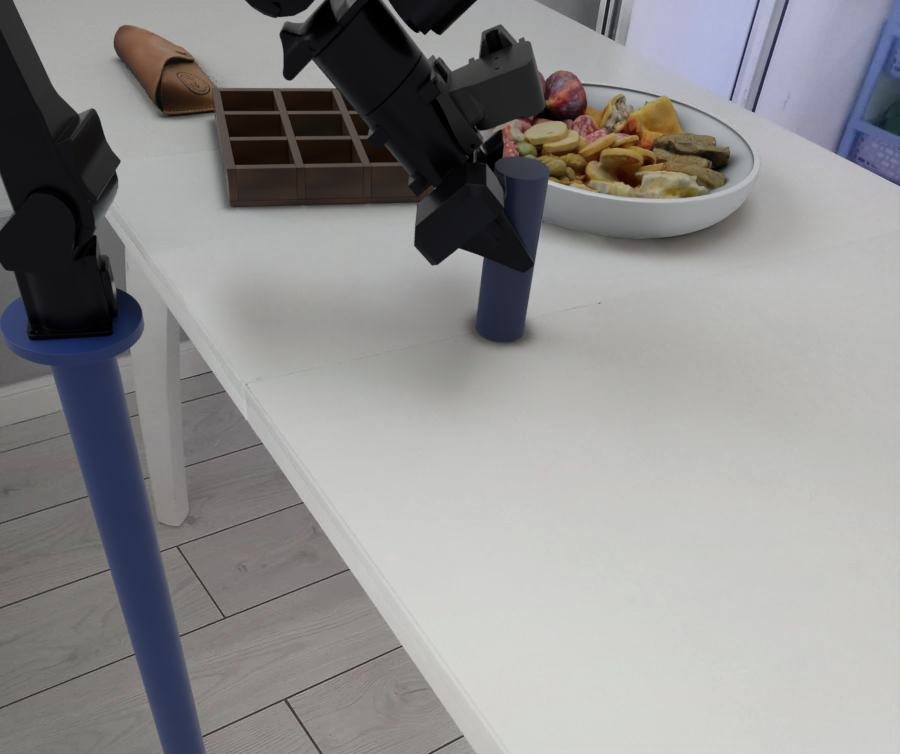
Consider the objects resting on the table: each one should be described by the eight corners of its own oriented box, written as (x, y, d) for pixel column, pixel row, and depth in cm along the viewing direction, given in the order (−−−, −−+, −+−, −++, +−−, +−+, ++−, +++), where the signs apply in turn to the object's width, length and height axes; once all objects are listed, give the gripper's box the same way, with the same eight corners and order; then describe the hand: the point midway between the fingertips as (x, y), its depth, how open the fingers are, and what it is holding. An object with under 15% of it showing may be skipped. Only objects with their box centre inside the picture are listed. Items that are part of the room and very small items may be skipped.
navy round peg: (482, 343, 72) (503, 180, 62) (470, 317, 74) (488, 156, 64) (529, 340, 73) (557, 179, 63) (515, 314, 75) (540, 155, 65)
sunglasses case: (233, 104, 98) (196, 48, 93) (184, 144, 99) (144, 91, 93) (184, 49, 108) (148, -4, 103) (139, 86, 109) (101, 35, 103)
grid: (230, 206, 84) (226, 168, 81) (215, 122, 96) (211, 87, 93) (433, 201, 88) (436, 164, 85) (393, 121, 100) (395, 88, 98)
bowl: (792, 192, 97) (820, 115, 91) (652, 287, 80) (676, 200, 74) (566, 106, 108) (579, 33, 102) (403, 174, 91) (407, 91, 85)
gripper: (485, 42, 50) (632, 249, 58) (482, -46, 62) (604, 136, 71) (344, 173, 55) (498, 344, 64) (368, 68, 67) (494, 223, 76)
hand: (527, 254), depth 68 cm, fingers closed on navy round peg, 4 cm apart
